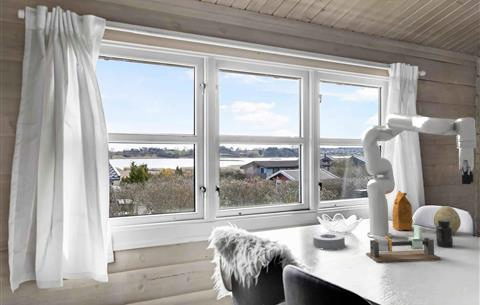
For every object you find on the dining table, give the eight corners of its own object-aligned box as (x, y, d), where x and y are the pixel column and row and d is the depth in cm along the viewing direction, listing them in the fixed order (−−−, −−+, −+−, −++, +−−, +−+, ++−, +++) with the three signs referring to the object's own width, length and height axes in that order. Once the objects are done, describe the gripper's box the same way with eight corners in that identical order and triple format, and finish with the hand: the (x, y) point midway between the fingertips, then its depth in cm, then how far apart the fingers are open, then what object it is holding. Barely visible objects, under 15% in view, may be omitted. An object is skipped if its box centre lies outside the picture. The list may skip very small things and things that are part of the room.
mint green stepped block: (408, 246, 160) (407, 225, 160) (417, 246, 160) (416, 225, 160) (413, 249, 156) (412, 227, 156) (422, 249, 156) (421, 227, 156)
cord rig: (366, 255, 163) (365, 235, 163) (425, 252, 164) (424, 233, 164) (377, 262, 151) (376, 242, 151) (440, 259, 152) (440, 239, 152)
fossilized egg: (461, 232, 200) (460, 205, 200) (460, 237, 190) (459, 208, 190) (435, 230, 207) (434, 204, 207) (433, 235, 196) (432, 207, 196)
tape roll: (339, 251, 171) (339, 240, 171) (308, 248, 179) (308, 237, 179) (348, 244, 184) (348, 234, 184) (319, 241, 192) (319, 231, 192)
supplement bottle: (455, 247, 170) (454, 222, 170) (439, 247, 171) (438, 222, 171) (449, 244, 176) (449, 219, 177) (434, 244, 178) (433, 219, 178)
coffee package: (408, 226, 219) (407, 190, 219) (414, 231, 207) (413, 192, 207) (390, 227, 221) (389, 190, 221) (395, 231, 208) (394, 192, 209)
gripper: (459, 145, 173) (460, 181, 173) (453, 145, 160) (455, 184, 160) (478, 144, 169) (479, 181, 169) (474, 144, 155) (475, 185, 155)
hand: (467, 183), depth 164 cm, fingers open, 9 cm apart
